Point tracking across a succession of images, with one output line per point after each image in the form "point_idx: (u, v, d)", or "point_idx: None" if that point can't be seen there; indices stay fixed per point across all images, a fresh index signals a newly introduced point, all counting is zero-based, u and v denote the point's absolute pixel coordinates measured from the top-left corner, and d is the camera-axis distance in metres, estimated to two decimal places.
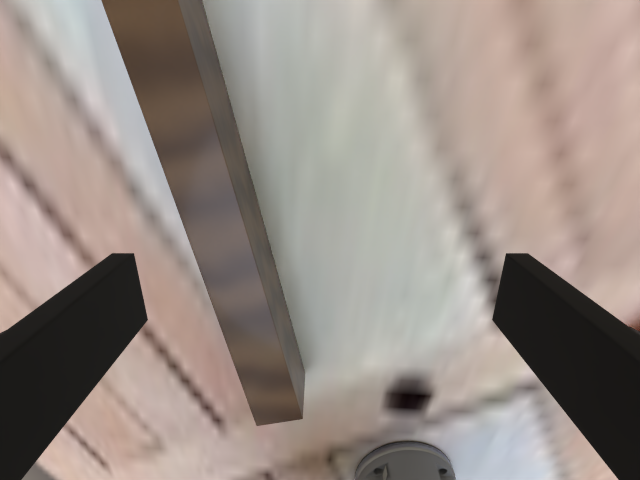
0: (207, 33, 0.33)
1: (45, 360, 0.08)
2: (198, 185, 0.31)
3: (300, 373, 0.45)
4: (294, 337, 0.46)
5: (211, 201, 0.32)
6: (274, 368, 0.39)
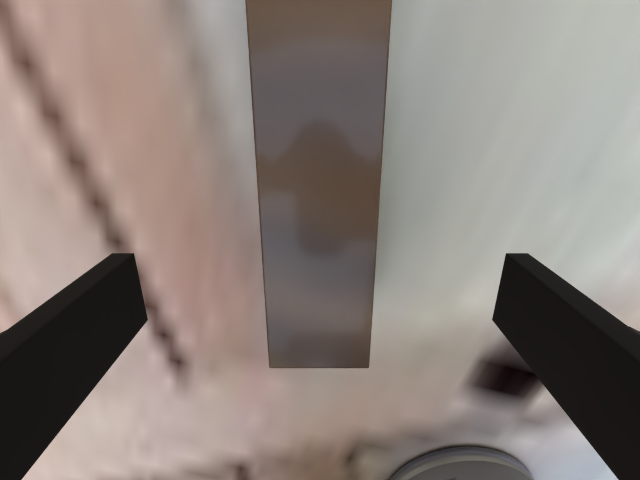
0: None
1: (45, 360, 0.08)
2: None
3: None
4: None
5: None
6: (348, 238, 0.17)
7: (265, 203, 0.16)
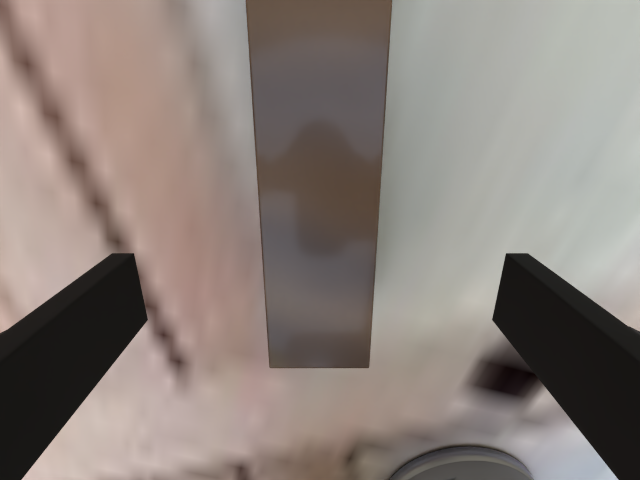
0: None
1: (45, 360, 0.08)
2: None
3: None
4: None
5: None
6: (348, 238, 0.17)
7: (265, 203, 0.16)
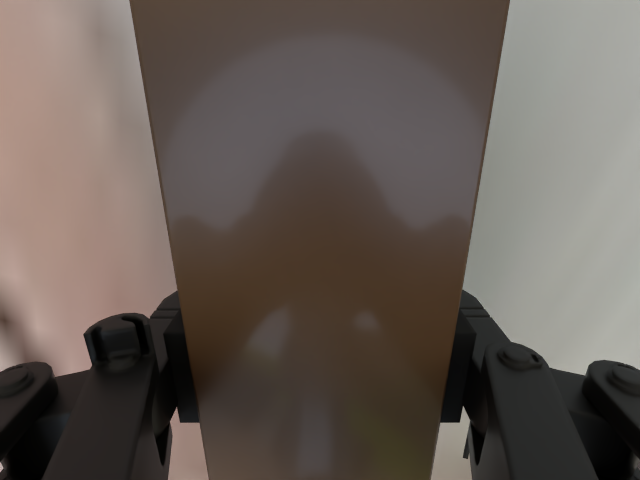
0: None
1: None
2: None
3: None
4: None
5: None
6: (384, 396, 0.08)
7: (199, 331, 0.07)
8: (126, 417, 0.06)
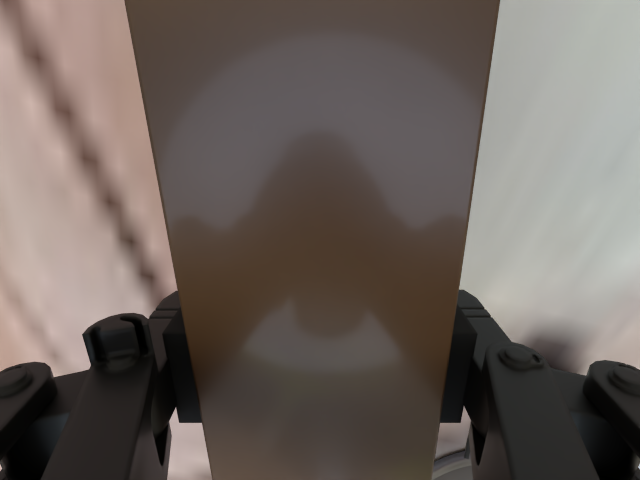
0: None
1: None
2: None
3: None
4: None
5: None
6: (383, 390, 0.08)
7: (199, 327, 0.07)
8: (125, 417, 0.06)
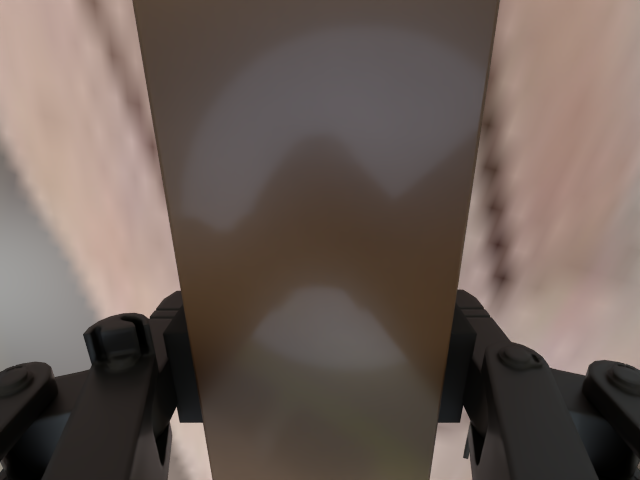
0: None
1: None
2: None
3: None
4: None
5: None
6: (383, 384, 0.08)
7: (200, 320, 0.07)
8: (125, 417, 0.06)
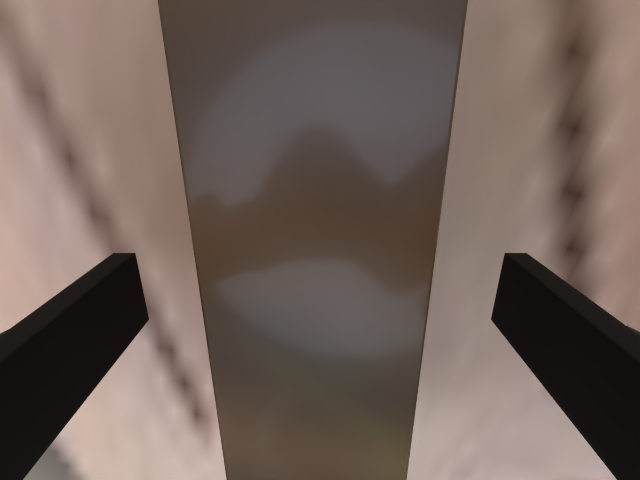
0: None
1: (47, 359, 0.08)
2: None
3: None
4: None
5: None
6: (371, 340, 0.09)
7: (210, 280, 0.08)
8: None
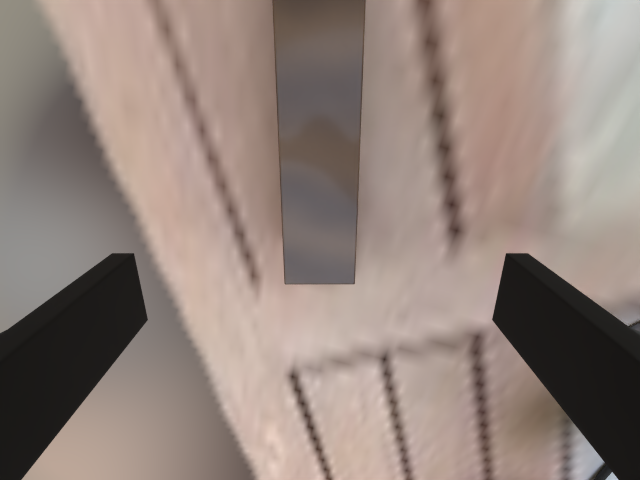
0: None
1: (45, 360, 0.08)
2: None
3: None
4: None
5: None
6: (339, 187, 0.25)
7: (284, 163, 0.25)
8: None
